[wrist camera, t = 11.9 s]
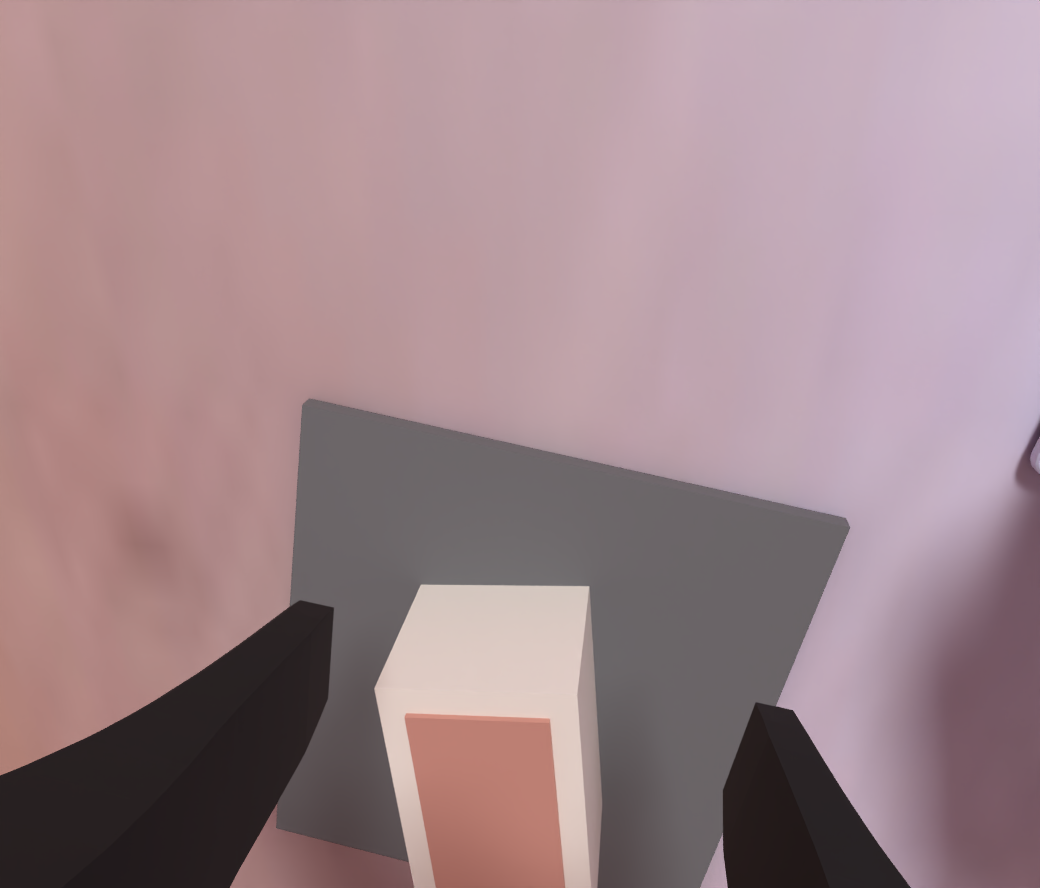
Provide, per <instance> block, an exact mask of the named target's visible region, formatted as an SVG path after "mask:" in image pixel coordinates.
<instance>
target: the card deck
mask: <svg viewBox="0 0 1040 888" xmlns="http://www.w3.org/2000/svg"><path fill="white" fill-rule="evenodd" d="M374 690H375V695H376V700H377V705H378V710H379V715H380V720H381V725H382V730H383V735H384V740H385V745H386V750H387V755H388V759H389V764H390V769H391V774H392V779H393V784H394V789H395V794H396V799H397V804H398V809H399V814H400V819H401V824H402V829H403V834H404V839H405V844H406V849H407V854H408V859H409V864H410V869H411V874H412V879H413V884H414V888H597V884H598V868H599V851H600V834H601V817H602V789H601V773H600V756H599V739H598V722H597V706H596V689H595V672H594V656H593V639H592V622H591V605H590V589H589V586H515V585H421V586H420V588H419V590H418V592H417V594H416V597H415V599H414V601H413V603H412V606H411V608H410V610H409V612H408V614H407V617H406V619H405V621H404V623H403V626H402V628H401V630H400V632H399V634H398V637H397V639H396V641H395V643H394V646H393V648H392V650H391V652H390V655H389V657H388V659H387V661H386V663H385V666H384V668H383V670H382V672H381V675H380V677H379V679H378V681H377V683H376V686H375V688H374Z"/></svg>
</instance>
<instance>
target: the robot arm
mask: <svg viewBox="0 0 1040 888" xmlns="http://www.w3.org/2000/svg"><path fill="white" fill-rule="evenodd" d="M1030 461H1031V466H1032V467H1033V468H1034V469H1035V470H1036V471H1037V472H1038V473H1039V474H1040V437H1039V439H1038V441H1037V443H1036V445H1035V447H1034V449H1033V451H1032V453H1031V457H1030ZM333 617H334V607H329V606H325V605H320V604H316V603H311V602H307V601H302V600H299V601H298V602H296V603H294V604H293V605H291V606H290V607H289V608H287V609H286V610H285V611H283V612H282V613H281V614H279V615H278V616H277V617H275V618H274V619H273V620H271V621H270V622H269V623H267V624H266V625H265V626H263V627H262V628H261V629H259V630H258V631H257V632H255V633H254V634H253V635H251V636H250V637H249V638H247V639H246V640H244V641H243V642H242V643H240V644H239V645H238V646H236V647H235V648H233V649H232V650H231V651H229V652H228V653H226V654H225V655H223V656H222V657H221V658H219V659H218V660H216V661H215V662H213V663H212V664H211V665H209V666H208V667H206V668H205V669H203V670H202V671H200V672H199V673H197V674H196V675H194V676H193V677H191V678H190V679H188V680H186V681H185V682H183V683H182V684H180V685H179V686H177V687H175V688H174V689H172V690H171V691H169V692H167V693H166V694H164V695H163V696H161V697H160V698H158V699H156V700H155V701H153V702H151V703H150V704H148V705H146V706H145V707H143V708H141V709H139V710H138V711H136V712H134V713H132V714H131V715H129V716H127V717H125V718H124V719H122V720H120V721H118V722H116V723H114V724H112V725H110V726H109V727H107V728H105V729H103V730H101V731H99V732H97V733H95V734H93V735H91V736H89V737H87V738H85V739H83V740H81V741H79V742H76V743H74V744H72V745H70V746H67V747H65V748H63V749H61V750H59V751H56V752H54V753H52V754H50V755H48V756H45V757H43V758H41V759H39V760H36V761H34V762H32V763H30V764H28V765H25V766H23V767H21V768H18V769H16V770H13V771H11V772H8V773H6V774H3V775H0V888H230V886H231V884H232V882H233V880H234V878H235V876H236V874H237V872H238V871H239V869H240V867H241V865H242V864H243V862H244V860H245V858H246V857H247V855H248V853H249V851H250V850H251V848H252V846H253V844H254V843H255V841H256V839H257V837H258V836H259V834H260V832H261V830H262V829H263V827H264V825H265V823H266V822H267V820H268V818H269V816H270V815H271V813H272V811H273V809H274V808H275V806H276V804H277V802H278V801H279V799H280V797H281V795H282V794H283V792H284V790H285V788H286V786H287V785H288V783H289V781H290V779H291V778H292V776H293V774H294V772H295V770H296V769H297V767H298V765H299V763H300V762H301V760H302V758H303V756H304V754H305V752H306V750H307V748H308V745H309V743H310V741H311V739H312V736H313V734H314V732H315V729H316V727H317V724H318V722H319V720H320V717H321V715H322V712H323V710H324V707H325V705H326V702H327V700H328V693H329V678H330V663H331V647H332V632H333ZM723 852H724V861H725V869H726V877H727V884H728V888H911V887H910V886H909V885H908V884H907V882H906V881H905V880H904V878H903V877H902V875H901V874H900V873H899V871H898V870H897V869H896V867H895V866H894V865H893V863H892V862H891V861H890V859H889V858H888V857H887V855H886V854H885V852H884V851H883V850H882V848H881V847H880V846H879V844H878V843H877V841H876V840H875V838H874V837H873V836H872V834H871V833H870V831H869V830H868V828H867V827H866V825H865V824H864V822H863V821H862V819H861V818H860V816H859V815H858V813H857V812H856V810H855V809H854V807H853V806H852V804H851V803H850V801H849V800H848V798H847V797H846V795H845V793H844V792H843V790H842V789H841V787H840V786H839V784H838V782H837V781H836V779H835V778H834V776H833V774H832V773H831V771H830V770H829V768H828V766H827V765H826V763H825V762H824V760H823V758H822V757H821V755H820V753H819V752H818V750H817V748H816V747H815V745H814V744H813V742H812V740H811V739H810V737H809V735H808V734H807V732H806V730H805V729H804V727H803V726H802V724H801V722H800V721H799V719H798V718H797V716H796V714H795V713H794V711H793V710H789V709H785V708H780V707H776V706H771V705H767V704H762V703H758V702H756V703H755V705H754V708H753V711H752V713H751V716H750V719H749V721H748V724H747V727H746V729H745V732H744V735H743V737H742V740H741V743H740V745H739V748H738V751H737V753H736V756H735V759H734V761H733V764H732V767H731V769H730V772H729V775H728V778H727V780H726V783H725V786H724V788H723Z"/></svg>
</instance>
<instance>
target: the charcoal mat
mask: <svg viewBox="0 0 1040 888" xmlns="http://www.w3.org/2000/svg"><path fill="white" fill-rule="evenodd" d="M849 529H850V526H849V524H848V522H847V520H846V518H842V517H838V516H833V515H829V514H824V513H820V512H815V511H811V510H806V509H802V508H798V507H793V506H789V505H784V504H780V503H775V502H771V501H766V500H762V499H757V498H753V497H748V496H744V495H739V494H735V493H730V492H726V491H721V490H717V489H712V488H708V487H703V486H699V485H694V484H690V483H685V482H681V481H676V480H672V479H668V478H663V477H659V476H654V475H650V474H645V473H641V472H636V471H632V470H627V469H623V468H618V467H614V466H609V465H605V464H600V463H596V462H591V461H587V460H582V459H578V458H573V457H569V456H564V455H560V454H555V453H551V452H546V451H542V450H538V449H533V448H529V447H524V446H520V445H515V444H511V443H506V442H502V441H497V440H493V439H488V438H484V437H479V436H475V435H470V434H466V433H461V432H457V431H452V430H448V429H443V428H439V427H434V426H430V425H425V424H421V423H416V422H412V421H408V420H403V419H399V418H394V417H390V416H385V415H381V414H376V413H372V412H367V411H363V410H358V409H354V408H349V407H345V406H340V405H336V404H331V403H327V402H322V401H318V400H313V399H308V400H307V401H306V402H305V403H304V404H303V405H302V418H301V434H300V450H299V466H298V482H297V499H296V515H295V531H294V547H293V564H292V580H291V596H290V606H291V605H293V604H294V603H296V602H298V601H299V600H302V601H307V602H311V603H316V604H320V605H325V606H329V607H334V617H333V632H332V647H331V663H330V678H329V693H328V700H327V702H326V705H325V707H324V710H323V712H322V715H321V717H320V720H319V722H318V724H317V727H316V729H315V732H314V734H313V736H312V739H311V741H310V743H309V745H308V748H307V750H306V752H305V754H304V756H303V758H302V760H301V762H300V763H299V765H298V767H297V769H296V770H295V772H294V774H293V776H292V778H291V779H290V781H289V783H288V785H287V786H286V788H285V790H284V792H283V794H282V795H281V797H280V799H279V801H278V807H277V823H276V828H278V829H281V830H285V831H289V832H293V833H297V834H301V835H305V836H309V837H313V838H317V839H321V840H325V841H328V842H332V843H336V844H340V845H344V846H348V847H352V848H356V849H360V850H364V851H368V852H372V853H376V854H379V855H383V856H387V857H391V858H395V859H399V860H403V861H407V862H409V859H408V854H407V849H406V844H405V839H404V834H403V829H402V824H401V819H400V814H399V809H398V804H397V799H396V794H395V789H394V784H393V779H392V774H391V769H390V764H389V759H388V755H387V750H386V745H385V740H384V735H383V730H382V725H381V720H380V715H379V710H378V705H377V700H376V695H375V690H374V688H375V686H376V683H377V681H378V679H379V677H380V675H381V672H382V670H383V668H384V666H385V663H386V661H387V659H388V657H389V655H390V652H391V650H392V648H393V646H394V643H395V641H396V639H397V637H398V634H399V632H400V630H401V628H402V626H403V623H404V621H405V619H406V617H407V614H408V612H409V610H410V608H411V606H412V603H413V601H414V599H415V597H416V594H417V592H418V590H419V588H420V586H421V585H515V586H589V589H590V605H591V622H592V639H593V656H594V672H595V689H596V706H597V722H598V739H599V756H600V773H601V789H602V817H601V834H600V851H599V868H598V884H597V888H700V886H701V884H702V881H703V879H704V876H705V874H706V872H707V869H708V867H709V865H710V862H711V860H712V857H713V855H714V853H715V850H716V848H717V845H718V843H719V841H720V838H721V836H722V833H723V788H724V786H725V783H726V780H727V778H728V775H729V772H730V769H731V767H732V764H733V761H734V759H735V756H736V753H737V751H738V748H739V745H740V743H741V740H742V737H743V735H744V732H745V729H746V727H747V724H748V721H749V719H750V716H751V713H752V711H753V708H754V705H755V703H756V702H758V703H762V704H767V705H771V706H776V704H777V702H778V699H779V697H780V694H781V692H782V690H783V687H784V685H785V682H786V680H787V678H788V675H789V673H790V670H791V668H792V666H793V663H794V661H795V658H796V656H797V654H798V651H799V649H800V646H801V644H802V642H803V639H804V637H805V635H806V632H807V630H808V627H809V625H810V623H811V620H812V618H813V615H814V613H815V611H816V608H817V606H818V603H819V601H820V599H821V596H822V594H823V591H824V589H825V587H826V584H827V582H828V579H829V577H830V575H831V572H832V570H833V567H834V565H835V563H836V560H837V558H838V555H839V553H840V551H841V548H842V546H843V543H844V541H845V539H846V536H847V534H848V531H849Z"/></svg>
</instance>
